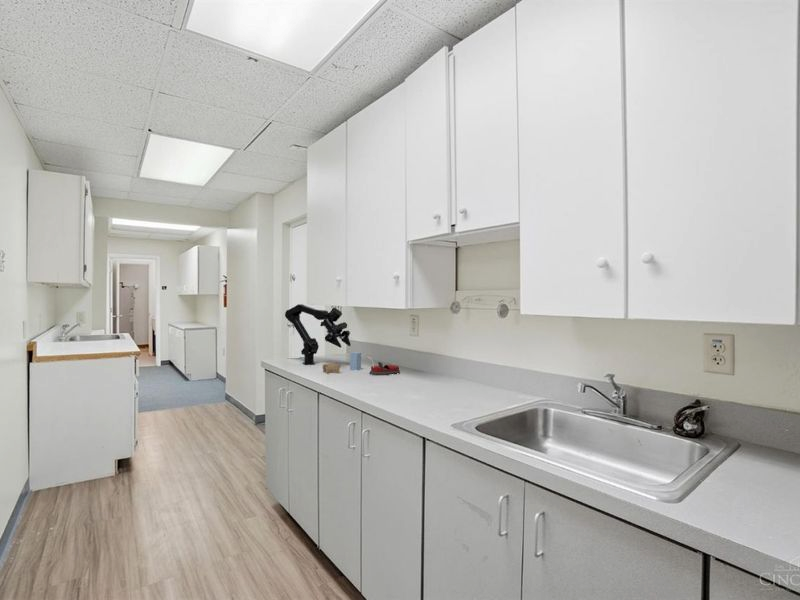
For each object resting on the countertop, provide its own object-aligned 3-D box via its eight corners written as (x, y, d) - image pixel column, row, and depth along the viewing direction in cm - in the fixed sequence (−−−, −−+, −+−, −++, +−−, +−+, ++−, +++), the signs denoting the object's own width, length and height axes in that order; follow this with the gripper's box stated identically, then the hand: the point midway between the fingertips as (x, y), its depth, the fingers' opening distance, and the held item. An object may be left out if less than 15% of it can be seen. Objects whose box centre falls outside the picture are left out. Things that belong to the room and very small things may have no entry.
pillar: (350, 369, 245) (350, 352, 245) (354, 368, 249) (354, 352, 249) (356, 370, 243) (356, 353, 243) (360, 369, 247) (361, 352, 247)
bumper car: (402, 374, 236) (403, 356, 236) (369, 376, 227) (370, 358, 227) (394, 371, 245) (395, 354, 245) (362, 373, 235) (363, 355, 235)
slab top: (322, 368, 236) (322, 364, 236) (333, 367, 240) (333, 363, 240) (328, 370, 230) (328, 365, 230) (339, 369, 235) (340, 364, 235)
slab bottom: (323, 372, 237) (323, 368, 237) (335, 372, 240) (335, 367, 240) (326, 374, 231) (326, 370, 231) (339, 374, 234) (339, 369, 234)
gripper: (329, 318, 244) (344, 338, 239) (348, 317, 260) (362, 336, 255) (318, 331, 248) (332, 351, 242) (337, 329, 264) (351, 348, 259)
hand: (345, 346), depth 250 cm, fingers open, 9 cm apart
